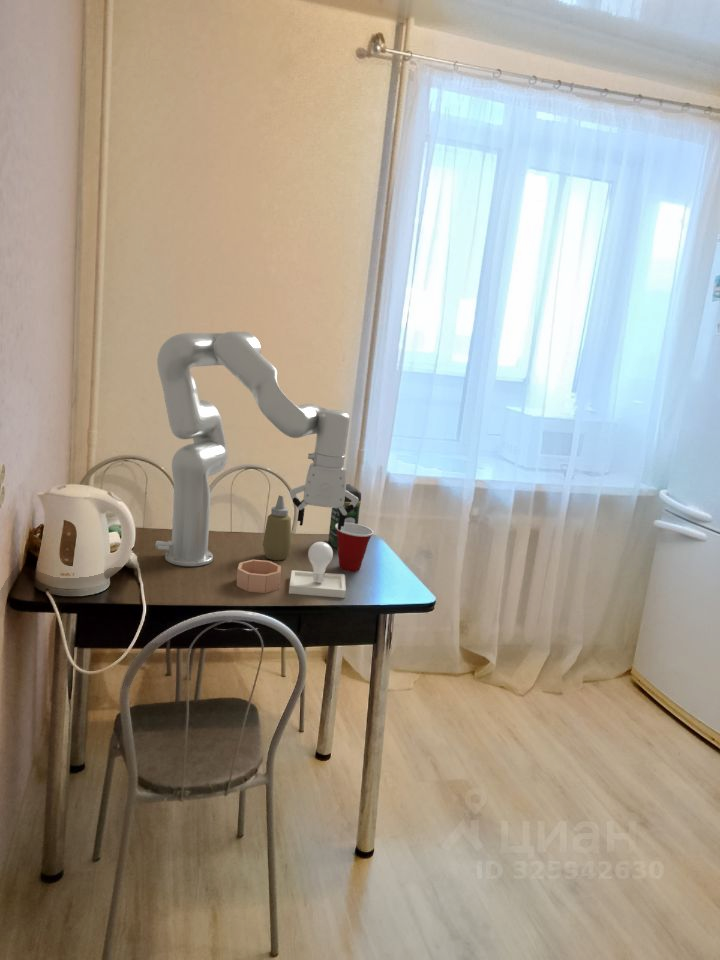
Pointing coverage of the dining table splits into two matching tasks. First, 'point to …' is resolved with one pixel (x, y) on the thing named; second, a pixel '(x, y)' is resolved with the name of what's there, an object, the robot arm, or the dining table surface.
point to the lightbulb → (320, 559)
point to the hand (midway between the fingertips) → (320, 526)
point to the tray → (317, 584)
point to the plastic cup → (352, 545)
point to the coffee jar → (349, 518)
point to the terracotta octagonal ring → (258, 576)
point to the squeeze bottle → (277, 532)
